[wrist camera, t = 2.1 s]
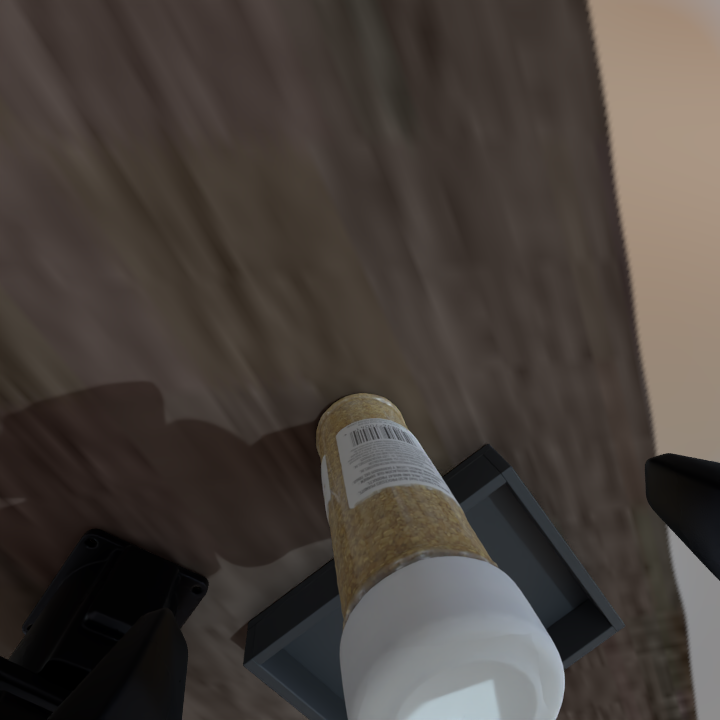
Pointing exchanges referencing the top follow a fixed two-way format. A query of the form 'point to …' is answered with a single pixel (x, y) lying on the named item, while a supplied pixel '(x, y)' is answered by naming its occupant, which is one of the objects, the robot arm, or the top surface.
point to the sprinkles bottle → (422, 586)
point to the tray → (504, 546)
